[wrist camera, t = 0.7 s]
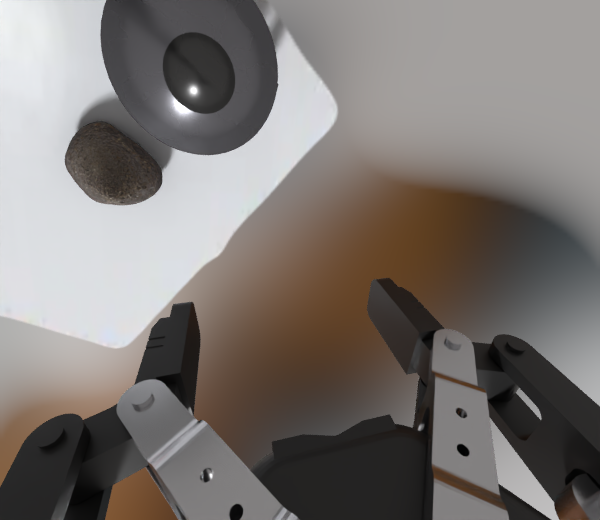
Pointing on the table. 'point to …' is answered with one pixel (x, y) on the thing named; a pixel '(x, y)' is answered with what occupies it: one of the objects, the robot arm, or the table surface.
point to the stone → (111, 166)
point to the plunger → (191, 69)
